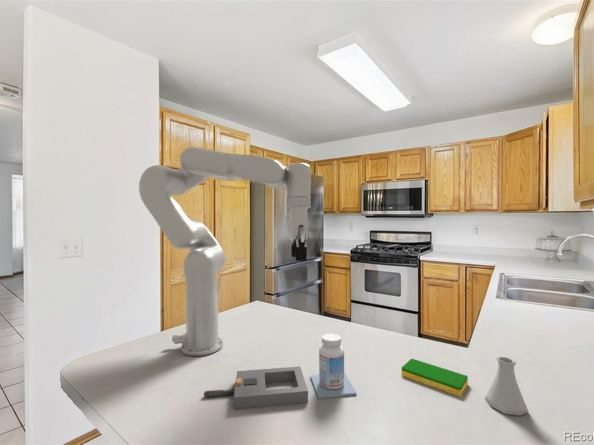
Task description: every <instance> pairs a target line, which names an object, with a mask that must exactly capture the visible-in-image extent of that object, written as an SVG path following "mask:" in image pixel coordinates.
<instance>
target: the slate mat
mask: <svg viewBox="0 0 594 445" xmlns="http://www.w3.org/2000/svg"><path fill="white" fill-rule="evenodd" d="M310 380H311V382H312V385H313V388H314V390H315V394H316V397H317V399H327V398H338V397H348V396H349V397H351V396H357V394H358V393H357V392H356V390H355V388H354V386H353V385H352V383H351V381H350V379H349V378H348V376H347V374H346V373H345V372H344V385H343V386H342V387H341V388H339V389H327V388H325V387H323V386H322V385H321V384H320V381H319V374H312V375H311V374H310Z"/></svg>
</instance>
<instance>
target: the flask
mask: <svg viewBox="0 0 594 445" xmlns="http://www.w3.org/2000/svg"><path fill="white" fill-rule="evenodd" d="M496 361H497V371H496V375H495V377H494V379H493V381H492V383H491V385H490V387H489V389H488V391H487V393H486V395H485V397H484V400H486V402H487V403H488V405H489V406H491V407H492V408H493V409H496V410H497V411H499V412H500V413H502V414H504V415H510V416H511V415H512V416H519V417H521V416H523V415H526V414H528V413H529V410H528V406H527V405H526V403H525V400H524V397H523V395H522V392H521V390H520V387H519V385H518V383H517V382H518V381H517V378H516V373H515V365H516V364H517V362H516V361H515V360H514V359H512V358H509V357H508V356H498V357H496Z"/></svg>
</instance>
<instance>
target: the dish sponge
mask: <svg viewBox="0 0 594 445" xmlns="http://www.w3.org/2000/svg"><path fill="white" fill-rule="evenodd" d="M400 372H401V376H403V377H404V378H407V379H411V380H412V381H416V382H419V383H422V384H424V385H427V386H429V385H430V387H432V386H433V388H435V387H436V388H435V389H438V388H439V389H438V390H440V389H442V390H441V391H443V390H445V391H444V392H446V391H447V393H449V392H450V393H449V394H451V393H453V394H452V395H454V394H455V395H454V396H457V395H458V396H457V397H462V395H463V394H462V393H464V392H465V390H466V388H467V387H468V385H469V379H468V376H467V375H466V374H462V373H459V372H456V371H453V370H449V369H447V368H444V367H440V366H438V365H437V366H436V365H434V364H431V363H427V362H424V361H421V360H418V359H415V358H410V359H409V360H408V361H407V362H406V363H405V364H404V365H402V366H401V370H400ZM467 384H468V385H467ZM466 386H467V387H466ZM464 389H465V390H464ZM463 391H464V392H463Z"/></svg>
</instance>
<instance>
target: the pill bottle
mask: <svg viewBox="0 0 594 445" xmlns="http://www.w3.org/2000/svg"><path fill="white" fill-rule="evenodd" d="M318 363H319V364H318V366H319V368H318V371H319V373H318V375H319V381H320V384H321V385H322V386H323V387H325V388H327V389H339V388H341V387H342V386H343V385H344V373H345V349H344V348H343V346H342V337H341V336H340V335H338V334H336V333H326V334H323V335H321V345H320V346H319V350H318Z"/></svg>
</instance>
